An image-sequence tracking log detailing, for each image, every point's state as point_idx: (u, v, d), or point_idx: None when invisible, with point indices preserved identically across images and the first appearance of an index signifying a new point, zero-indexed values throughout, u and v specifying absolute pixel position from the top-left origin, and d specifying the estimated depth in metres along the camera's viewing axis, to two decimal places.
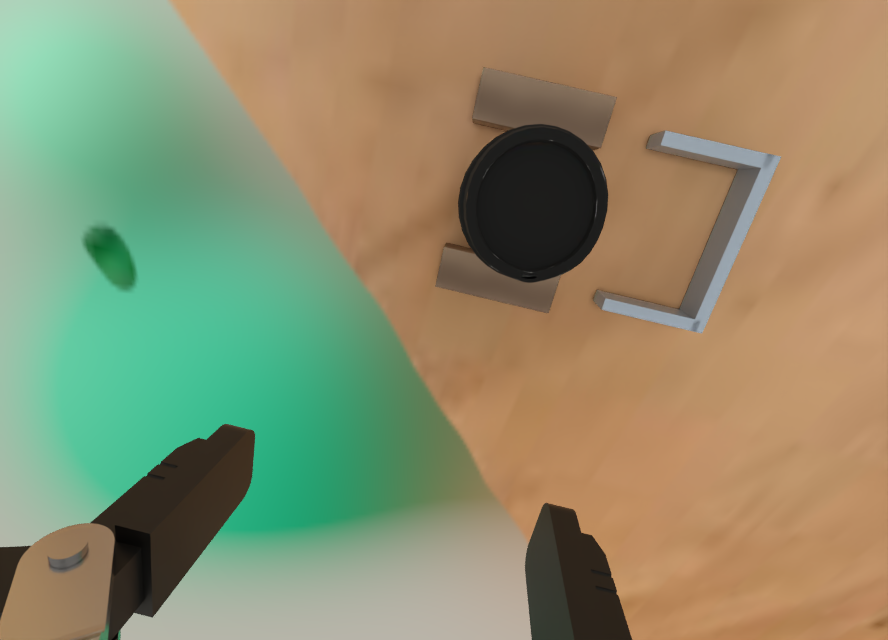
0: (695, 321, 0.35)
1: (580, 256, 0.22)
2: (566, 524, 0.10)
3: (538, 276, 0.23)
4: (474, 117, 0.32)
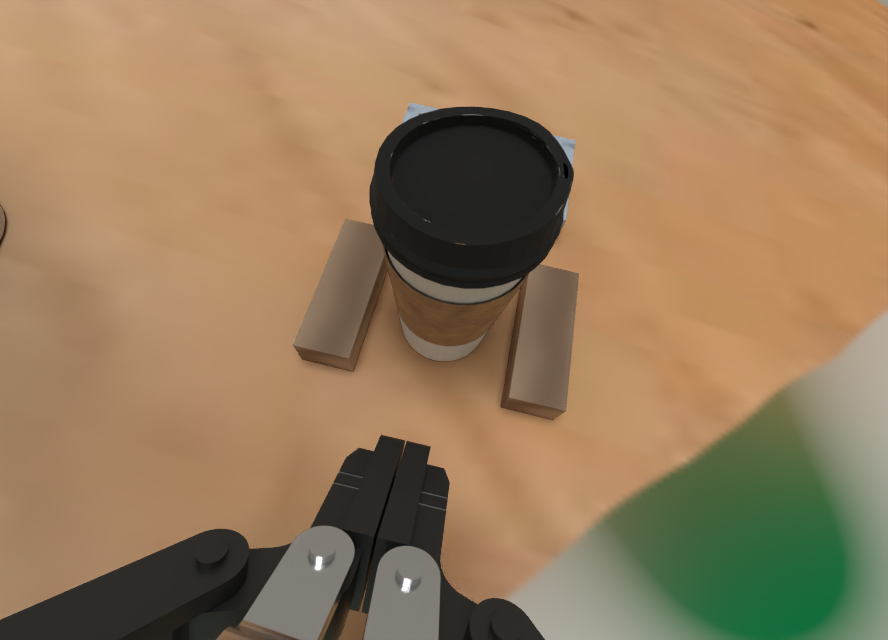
0: (564, 145, 0.34)
1: (531, 123, 0.18)
2: (415, 456, 0.11)
3: (563, 161, 0.17)
4: (348, 356, 0.26)
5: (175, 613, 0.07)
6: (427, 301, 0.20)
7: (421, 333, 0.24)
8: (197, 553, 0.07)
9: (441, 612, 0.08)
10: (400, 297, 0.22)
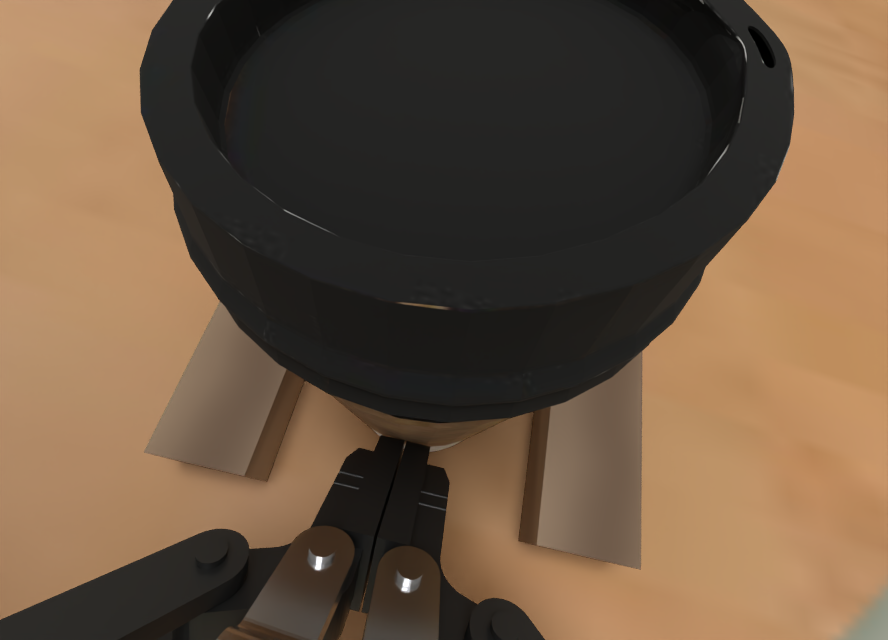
0: None
1: None
2: (415, 456, 0.11)
3: (747, 19, 0.05)
4: (243, 470, 0.14)
5: (175, 613, 0.07)
6: (365, 413, 0.08)
7: (377, 431, 0.13)
8: (197, 553, 0.07)
9: (441, 612, 0.08)
10: None
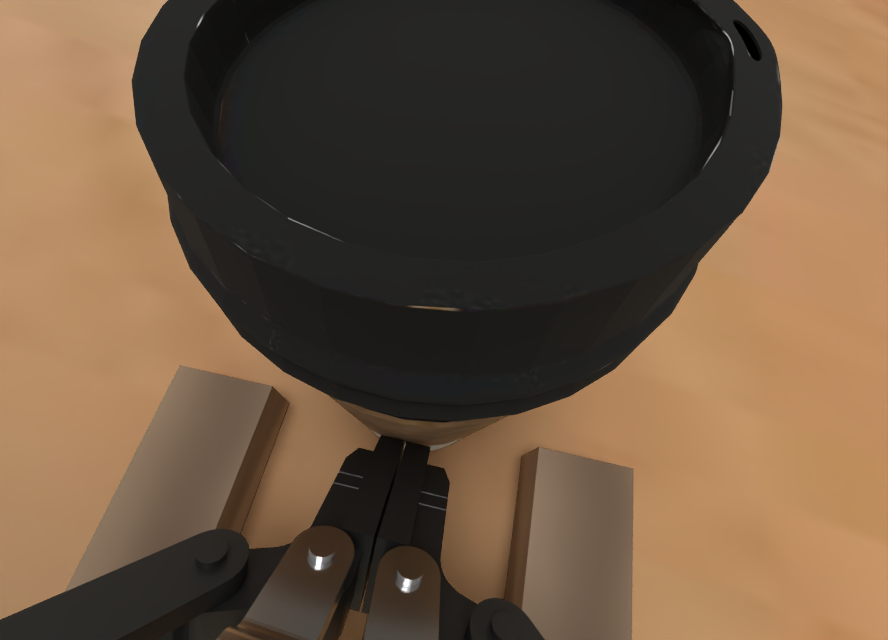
0: None
1: None
2: (416, 456, 0.11)
3: (731, 14, 0.06)
4: None
5: (175, 613, 0.07)
6: (369, 416, 0.08)
7: (378, 432, 0.13)
8: (197, 553, 0.07)
9: (441, 612, 0.08)
10: None
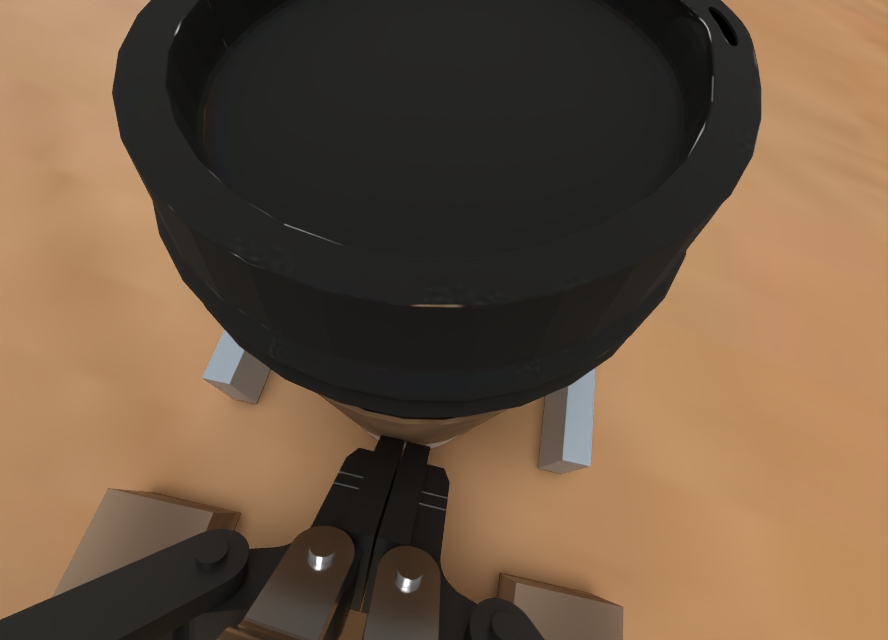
0: None
1: None
2: (415, 456, 0.11)
3: (706, 1, 0.06)
4: None
5: (175, 613, 0.07)
6: (370, 418, 0.08)
7: (377, 434, 0.13)
8: (197, 553, 0.07)
9: (441, 612, 0.08)
10: None
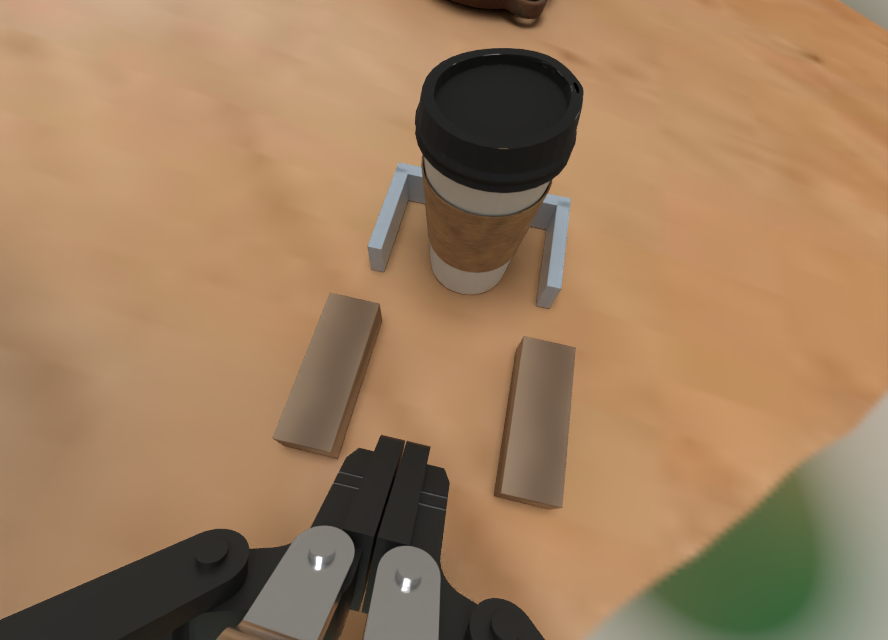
0: (559, 204, 0.33)
1: (541, 56, 0.22)
2: (415, 456, 0.11)
3: (573, 80, 0.21)
4: (330, 449, 0.24)
5: (175, 613, 0.07)
6: (469, 217, 0.23)
7: (457, 261, 0.28)
8: (197, 553, 0.07)
9: (441, 612, 0.08)
10: (441, 225, 0.25)
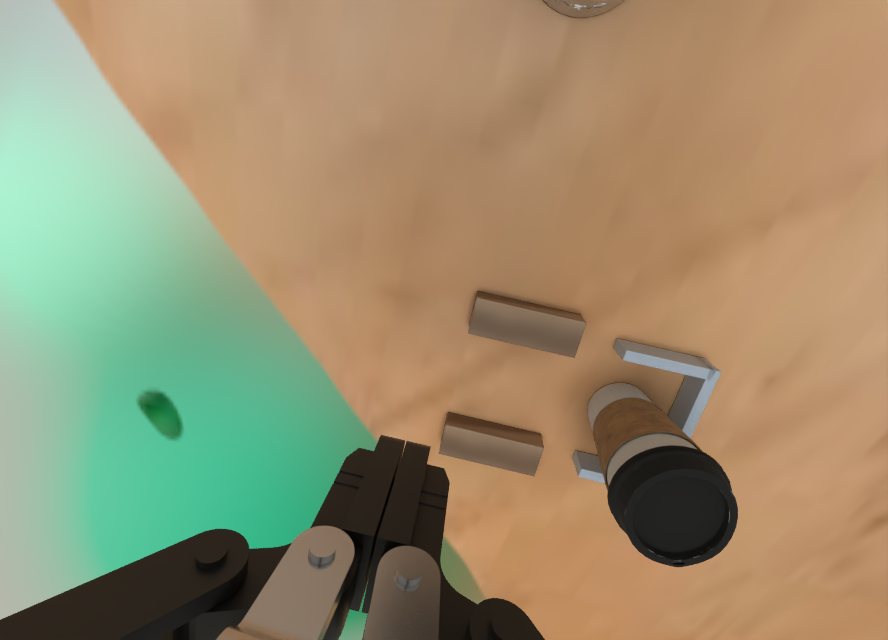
0: None
1: (719, 548, 0.29)
2: (415, 456, 0.11)
3: (686, 563, 0.29)
4: (470, 332, 0.39)
5: (175, 613, 0.07)
6: (607, 457, 0.33)
7: (599, 420, 0.38)
8: (197, 553, 0.07)
9: (441, 612, 0.08)
10: (616, 427, 0.35)
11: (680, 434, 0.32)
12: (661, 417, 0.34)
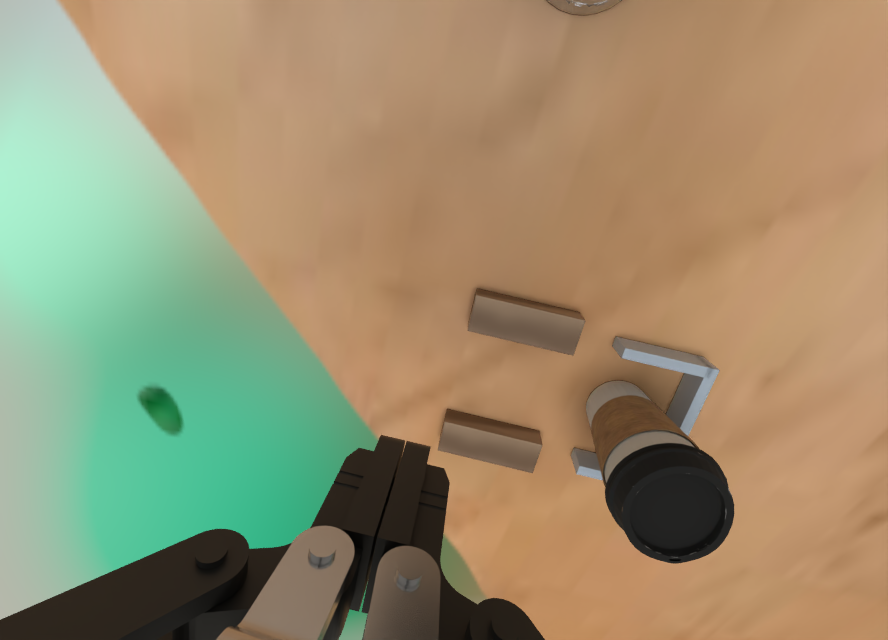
0: None
1: (715, 545, 0.29)
2: (415, 456, 0.11)
3: (682, 559, 0.30)
4: (469, 330, 0.39)
5: (175, 613, 0.07)
6: (605, 454, 0.33)
7: (597, 418, 0.38)
8: (197, 553, 0.07)
9: (441, 612, 0.08)
10: (614, 424, 0.35)
11: (678, 432, 0.32)
12: (659, 415, 0.35)
